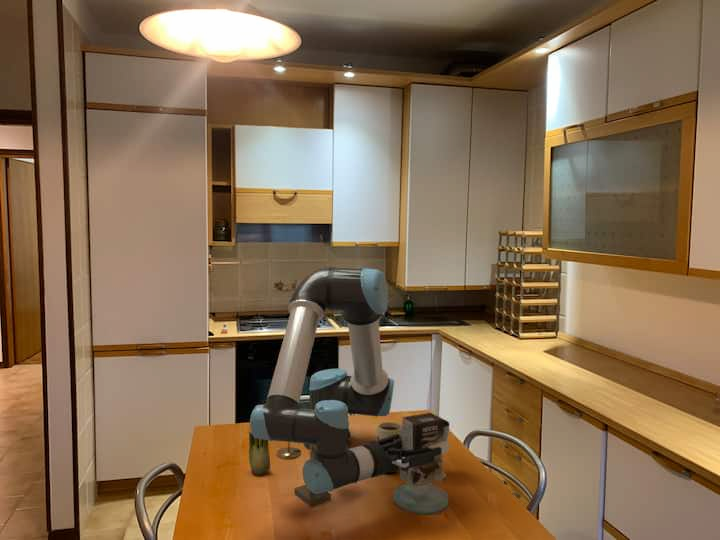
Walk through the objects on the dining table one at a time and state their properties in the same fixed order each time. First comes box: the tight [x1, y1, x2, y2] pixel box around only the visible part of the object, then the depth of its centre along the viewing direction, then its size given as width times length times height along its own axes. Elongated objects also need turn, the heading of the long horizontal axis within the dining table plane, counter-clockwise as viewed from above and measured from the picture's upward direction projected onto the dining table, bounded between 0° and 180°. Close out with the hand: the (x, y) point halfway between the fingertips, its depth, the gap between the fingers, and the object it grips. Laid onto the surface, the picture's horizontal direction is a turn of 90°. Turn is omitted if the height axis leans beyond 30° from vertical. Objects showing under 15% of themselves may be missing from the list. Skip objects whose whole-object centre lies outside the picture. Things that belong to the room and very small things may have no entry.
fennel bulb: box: [248, 431, 271, 476], centre depth 157 cm, size 6×5×12 cm
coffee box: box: [399, 412, 445, 487], centre depth 142 cm, size 9×6×16 cm
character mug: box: [376, 421, 402, 474], centre depth 160 cm, size 11×7×13 cm, turn 168°
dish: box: [393, 483, 449, 516], centre depth 143 cm, size 14×14×1 cm
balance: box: [276, 442, 332, 507], centre depth 143 cm, size 8×20×18 cm, turn 126°
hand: (436, 441), depth 145 cm, fingers closed on coffee box, 7 cm apart
